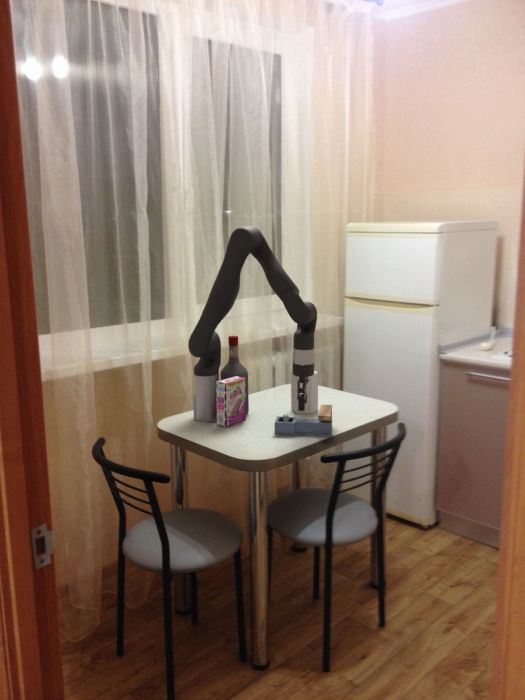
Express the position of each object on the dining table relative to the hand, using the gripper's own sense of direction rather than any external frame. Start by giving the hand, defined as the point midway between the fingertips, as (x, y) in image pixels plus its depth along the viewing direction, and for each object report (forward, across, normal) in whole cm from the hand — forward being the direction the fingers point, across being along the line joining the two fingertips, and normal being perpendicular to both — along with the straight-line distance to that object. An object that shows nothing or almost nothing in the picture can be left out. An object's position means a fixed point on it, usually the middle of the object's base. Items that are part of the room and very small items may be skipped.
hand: (302, 406), depth 221 cm
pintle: (+9, 0, -6) cm, 11 cm away
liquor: (+10, -19, -28) cm, 35 cm away
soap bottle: (+10, -26, -2) cm, 27 cm away
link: (+9, 0, 0) cm, 9 cm away
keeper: (+9, -1, +8) cm, 12 cm away
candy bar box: (+10, -8, -26) cm, 29 cm away
